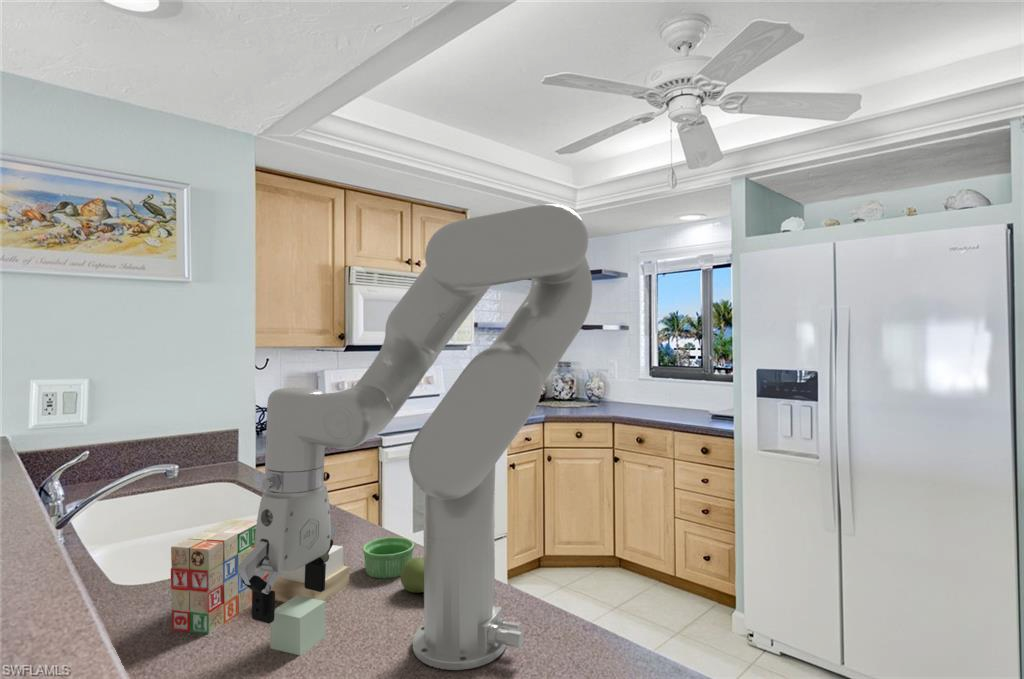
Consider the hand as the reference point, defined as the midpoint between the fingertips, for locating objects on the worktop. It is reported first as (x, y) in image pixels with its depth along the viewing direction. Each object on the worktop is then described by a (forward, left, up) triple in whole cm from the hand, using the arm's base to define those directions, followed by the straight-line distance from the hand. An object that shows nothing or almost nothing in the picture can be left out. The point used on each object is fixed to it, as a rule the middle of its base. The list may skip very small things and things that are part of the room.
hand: (290, 604), depth 77 cm
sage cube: (-1, 0, -5) cm, 5 cm away
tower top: (+8, -13, -2) cm, 16 cm away
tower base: (+8, -13, -6) cm, 16 cm away
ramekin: (+1, -25, -6) cm, 26 cm away
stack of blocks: (+17, -8, -6) cm, 19 cm away
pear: (-11, -19, -6) cm, 23 cm away
